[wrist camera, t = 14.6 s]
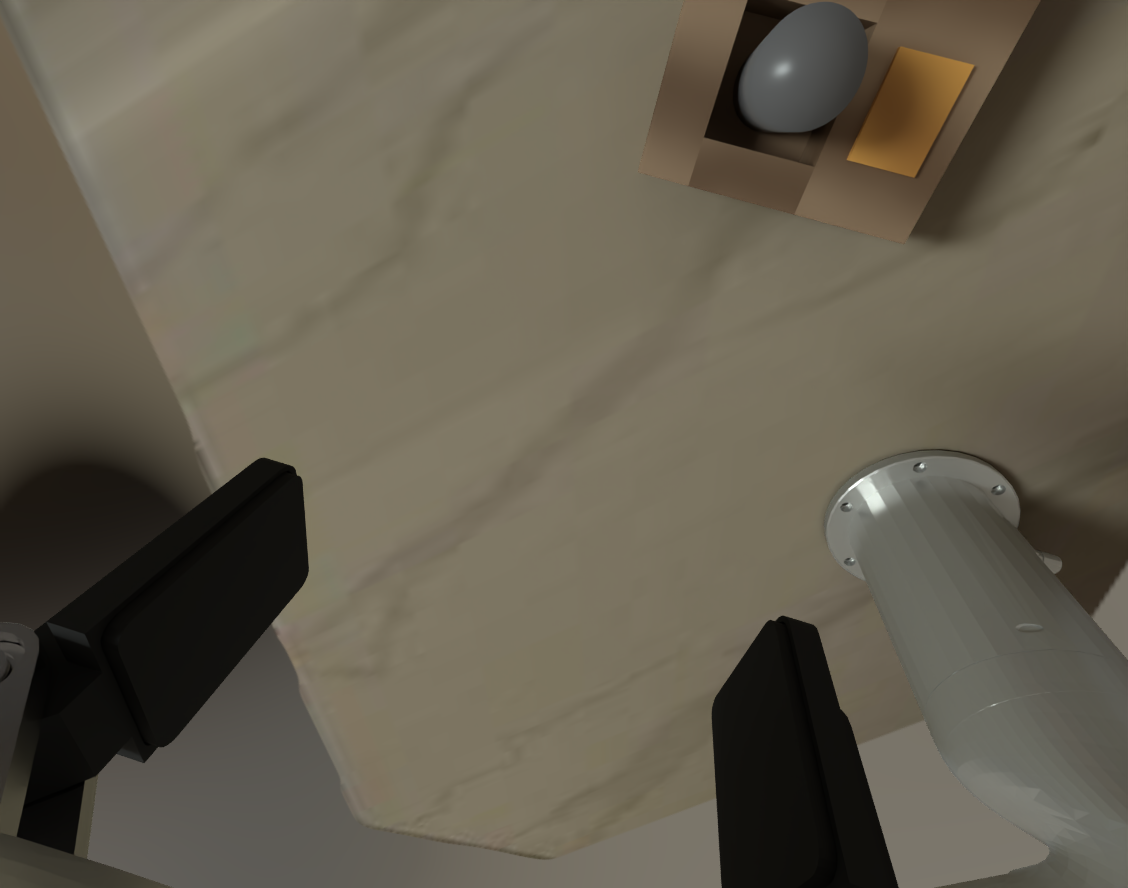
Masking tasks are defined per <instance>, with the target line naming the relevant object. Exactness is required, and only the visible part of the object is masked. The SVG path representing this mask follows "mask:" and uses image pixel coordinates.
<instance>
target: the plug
mask: <svg viewBox="0 0 1128 888" xmlns="http://www.w3.org/2000/svg"><path fill="white" fill-rule="evenodd" d="M867 61H868V41H867V37H866V33H865V30H864V27H863V25H862V23H861V22H860V20H859V19H858V17H857V16H856V15H855V14H854V13H853V12H852V11H851V10H849V9H848V8H846V7H845V6H843V5H840V4H837V3H833V2H816V3H811V4H808V5H805V6H803V7H800V8H798V9H796V10H795V11H793V12H792V13H790V14H789V15H787V16H786V17H785V18H784V19H782V20H781V21H780V22H779V23H778V24H777V25H776V26H775V27H774V29H773V30H772V31H771V32H770V33H769V34H768V35H767V36H766V38H765V39H764V40H763V41H762V42H761V43H760V44H759V45H758V46H757V48H756V49H755V50H754V51H753V52H752V53H751V54H750V55H749V56H748V58H747V59H746V60H745V61H744V63H743V64H742V66H741V68H740V70H739V72H738V74H737V77H736V79H735V83H734V88H733V103H734V108H735V111H736V114H737V116H738V117H739V119H740V120H741V122H742V123H743V124H744V125H745V126H747V127H748V128H750V129H752V130H754V131H757V132H806V131H810V130H813V129H816V128H818V127H821V126H823V125H825V124H826V123H828V122H830V121H831V120H832V119H834V118H835V117H836V116H837V115H839V114H840V113H841V112H842V111H843V110H844V109H845V108H846V107H847V105H848V104H849V103H850V102H851V100H852V99H853V97H854V96H855V94H856V93H857V91H858V89H859V87H860V85H861V83H862V80H863V77H864V74H865V71H866V67H867Z"/></svg>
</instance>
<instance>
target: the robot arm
mask: <svg viewBox="0 0 1128 888" xmlns="http://www.w3.org/2000/svg"><path fill="white" fill-rule="evenodd" d="M1020 513H1021V510H1020V504H1019V498H1018V496H1017V494H1016V492H1015V490H1014V488H1013V486H1012V485H1011V484H1010V483H1009V482H1008V481H1007V480H1006V478H1005V477H1004V476H1003V475H1002V474H1001V473H1000V472H999V471H997V470H996V469H995V468H994V467H992V466H991V465H990V464H988V463H986V462H984V461H982V460H980V459H978V458H976V457H973V456H970V455H966V454H963V453H959V452H952V451H943V450H928V451H916V452H910V453H904V454H900V455H896V456H893V457H890V458H887V459H884V460H881V461H879V462H877V463H875V464H873V465H871V466H869V467H867V468H865V469H863V470H862V471H860V472H859V473H857V474H856V475H854V476H853V477H852V478H850V479H849V480H848V481H847V482H846V483H845V484H844V485H843V486H842V487H841V488H840V489H839V490H838V492H837V493H836V494H835V496H834V497H833V499H832V500H831V502H830V504H829V506H828V509H827V511H826V515H825V520H824V533H825V538H826V541H827V544H828V547H829V549H830V551H831V553H832V555H833V557H834V559H835V560H836V561H837V562H838V563H839V565H840V566H841V567H842V568H844V569H845V570H846V571H848V572H849V573H850V574H852V575H853V576H855V577H857V578H859V579H862V580H864V581H866V582H867V585H868V587H869V589H870V592H871V594H872V596H873V599H874V601H875V603H876V606H877V608H878V611H879V613H880V615H881V618H882V620H883V622H884V625H885V627H886V629H887V632H888V634H889V637H890V639H891V641H892V644H893V646H894V648H895V651H896V653H897V655H898V658H899V660H900V663H901V665H902V667H903V670H904V672H905V674H906V677H907V679H908V681H909V684H910V686H911V689H912V691H913V693H914V696H915V698H916V700H917V703H918V705H919V707H920V710H921V712H922V715H923V717H924V719H925V722H926V724H927V726H928V729H929V731H930V733H931V736H932V738H933V741H934V743H935V745H936V747H937V749H938V751H939V753H940V755H941V757H942V759H943V760H944V762H945V763H946V765H947V766H948V768H949V769H950V771H951V772H952V773H953V775H954V776H955V777H956V778H957V779H958V780H959V782H960V783H961V784H962V785H963V786H964V787H965V788H966V789H967V790H968V791H969V792H970V793H971V794H972V795H973V796H974V797H976V798H977V799H978V800H979V801H980V802H982V803H983V804H984V805H985V806H987V807H988V808H989V809H991V810H992V811H994V812H995V813H996V814H998V815H999V816H1001V817H1002V818H1004V819H1005V820H1007V821H1008V822H1010V823H1012V824H1013V825H1015V826H1016V827H1018V828H1019V829H1021V830H1022V831H1024V832H1026V833H1027V834H1029V835H1030V836H1032V837H1034V838H1035V839H1037V840H1039V841H1040V842H1042V843H1043V844H1045V845H1047V846H1048V847H1049V855H1048V856H1047V858H1046V859H1045V860H1044V861H1042V862H1040V863H1038V864H1036V865H1031V866H1028V867H1023V868H1019V869H1015V870H1012V871H1010V872H1009V873H1008V874H1004V875H998V876H993V877H988V878H983V879H977V880H973V881H967V882H962V883H957V884H951V885H947V886H941V887H936V888H1128V660H1127V659H1126V657H1125V656H1124V655H1123V654H1122V653H1121V652H1120V651H1119V649H1118V648H1117V647H1116V646H1115V645H1114V644H1113V642H1112V641H1111V640H1110V639H1109V638H1108V637H1107V635H1106V634H1105V633H1104V632H1103V631H1102V630H1101V628H1100V627H1099V626H1098V625H1097V624H1096V623H1095V621H1094V620H1093V619H1092V618H1091V617H1090V616H1089V614H1088V613H1087V612H1086V611H1085V610H1084V609H1083V607H1082V606H1081V605H1080V604H1079V603H1078V602H1077V600H1076V599H1075V598H1074V597H1073V596H1072V595H1071V593H1070V592H1069V591H1068V590H1067V589H1066V588H1065V586H1064V585H1063V584H1062V583H1061V582H1060V581H1059V579H1058V578H1057V577H1056V576H1055V575H1054V574H1056V573H1057V572H1059V571H1060V569H1061V568H1062V561H1061V559H1060V557H1058V556H1056V555H1053V554H1050V553H1046V552H1043V551H1040V550H1035V549H1034V548H1033V547H1032V546H1031V544H1030V543H1029V542H1028V541H1027V540H1026V539H1025V538H1024V536H1023V535H1022V534H1021V533H1020V532H1019V531H1018V529H1017V528H1018V526H1019V521H1020ZM308 572H309V565H308V551H307V538H306V524H305V510H304V497H303V483H302V478H301V477H300V476H297V474H296V470H295V468H294V467H293V466H290V465H287V464H284V463H280V462H277V461H274V460H270V459H267V458H260V459H258V460H256V461H254V462H253V463H252V464H251V465H249V466H248V467H247V468H245V469H244V470H243V471H241V472H240V473H239V474H238V475H236V476H235V477H234V478H232V479H231V480H230V481H229V482H227V483H226V484H225V485H223V486H222V487H221V488H219V489H218V490H217V491H216V492H214V493H213V494H212V495H210V496H209V497H208V498H207V499H205V500H204V501H203V502H201V503H200V504H199V505H197V506H196V507H195V508H193V509H192V510H191V511H190V512H188V513H187V514H186V515H185V516H183V517H182V518H180V519H179V520H178V521H177V522H175V523H174V524H173V525H171V526H170V527H169V528H167V529H166V530H165V531H164V532H162V533H161V534H160V535H158V536H157V537H156V538H154V539H153V540H152V541H151V542H149V543H148V544H147V545H145V546H144V547H143V548H141V549H140V550H139V551H138V552H136V553H135V554H134V555H132V556H131V557H130V558H128V559H127V560H126V561H125V562H123V563H122V564H121V565H119V566H118V567H117V568H115V569H114V570H113V571H112V572H110V573H109V574H108V575H107V576H105V577H104V578H102V579H101V580H100V581H99V582H97V583H96V584H95V585H93V586H92V587H91V588H89V589H88V590H87V591H86V592H84V593H83V594H82V595H80V596H79V597H78V598H76V599H75V600H74V601H73V602H71V603H70V604H69V605H67V606H66V607H65V608H63V609H62V610H61V611H60V612H58V613H57V614H56V615H54V616H53V617H52V618H50V619H49V620H48V621H47V622H46V623H44V624H43V625H42V626H40V627H39V628H38V629H36V630H35V631H33V630H32V629H30V628H28V627H26V626H23V625H21V624H16V623H5V622H0V888H173V887H170V886H167V885H164V884H160V883H158V882H155V881H152V880H149V879H146V878H143V877H140V876H137V875H134V874H131V873H128V872H125V871H123V870H120V869H116V868H114V867H110V866H107V865H104V864H101V863H98V862H94V861H91V860H88V859H87V854H88V847H89V840H90V832H91V825H92V817H93V810H94V802H95V795H96V787H97V780H98V773H99V772H100V771H101V770H102V769H103V768H104V767H105V766H106V764H107V763H108V762H109V761H110V760H111V759H112V758H113V757H114V756H115V755H116V754H119V755H121V756H125V757H127V758H131V759H133V760H136V761H139V762H142V763H145V761H146V760H147V759H148V758H149V757H150V756H151V755H152V754H153V752H154V751H155V750H156V748H158V747H164V746H167V745H168V744H169V743H171V742H172V741H173V740H174V739H175V738H176V737H177V736H178V735H179V734H180V732H181V731H182V730H183V729H184V727H185V726H186V725H187V724H188V723H189V721H190V720H191V719H192V718H193V717H194V715H195V714H196V713H197V712H198V711H199V710H200V708H201V707H202V706H203V705H204V704H205V702H206V701H207V700H208V699H209V698H210V696H211V695H212V694H213V693H214V691H215V690H216V689H217V688H218V687H219V686H220V684H221V683H222V682H223V681H224V679H225V678H226V677H227V676H228V675H229V674H230V672H231V671H232V670H233V669H234V667H235V666H236V665H237V664H238V663H239V662H240V660H241V659H242V658H243V657H244V655H245V654H246V653H247V652H248V651H249V649H250V648H251V647H252V646H253V645H254V643H255V642H256V641H257V640H258V639H259V638H260V636H261V635H262V634H263V633H264V632H265V630H266V629H267V628H268V627H269V625H270V624H271V623H272V622H273V621H274V620H275V618H276V617H277V616H278V615H279V614H280V612H281V611H282V610H283V609H284V608H285V606H286V605H287V604H288V603H289V602H290V600H291V599H292V598H293V597H294V596H295V594H296V593H297V592H298V591H299V590H300V588H301V587H302V586H303V584H304V582H305V581H306V578H307V576H308ZM712 730H713V747H714V764H715V781H716V798H717V812H718V813H717V814H718V832H719V850H720V865H721V884H722V888H899V887H898V884H897V880H896V877H895V874H894V870H893V867H892V863H891V860H890V856H889V853H888V850H887V847H886V843H885V839H884V836H883V833H882V829H881V826H880V822H879V819H878V816H877V812H876V809H875V806H874V802H873V799H872V795H871V792H870V789H869V785H868V782H867V778H866V775H865V772H864V768H863V765H862V761H861V758H860V755H859V751H858V748H857V744H856V741H855V737H854V734H853V731H852V727H851V725H850V722H849V720H848V717H847V716H846V715H845V713H844V712H843V711H842V710H840V706H839V703H838V699H837V696H836V692H835V689H834V685H833V682H832V678H831V675H830V671H829V668H828V664H827V661H826V657H825V654H824V650H823V647H822V643H821V639H820V636H819V633H818V630H817V628H816V627H815V626H814V625H812V624H809V623H806V622H802V621H799V620H796V619H793V618H789V617H786V616H780V617H779V618H778V619H777V620H776V621H772V620H769V621H768V622H767V623H766V624H765V625H764V627H763V628H762V630H761V631H760V633H759V634H758V636H757V637H756V638H755V640H754V641H753V643H752V644H751V646H750V647H749V649H748V650H747V652H746V653H745V655H744V656H743V657H742V659H741V660H740V662H739V663H738V665H737V666H736V668H735V669H734V671H733V672H732V674H731V675H730V677H729V678H728V679H727V681H726V682H725V684H724V685H723V687H722V688H721V690H720V691H719V693H718V694H717V696H716V697H715V700H714V703H713V707H712Z"/></svg>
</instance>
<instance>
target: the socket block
mask: <svg viewBox="0 0 1128 888" xmlns="http://www.w3.org/2000/svg"><path fill="white" fill-rule="evenodd" d="M1040 1H1041V0H684V1H683V5H682V8H681V12H680V16H679V20H678V23H677V27H676V31H675V35H674V38H673V42H672V46H671V50H670V53H669V57H668V61H667V65H666V68H665V72H664V76H663V80H662V83H661V87H660V91H659V94H658V98H657V102H656V106H655V109H654V113H653V117H652V121H651V124H650V128H649V132H648V136H647V139H646V143H645V147H644V151H643V154H642V158H641V162H640V166H639V169H638V172H639V173H642V174H646V175H650V176H654V177H657V178H661V179H665V180H668V181H672V182H676V183H679V184H683V185H687V186H691V187H694V188H698V189H702V190H705V191H709V192H713V193H716V194H720V195H724V196H728V197H731V198H735V199H739V200H742V201H746V202H750V203H753V204H757V205H761V206H765V207H768V208H772V209H776V210H779V211H783V212H787V213H791V214H794V215H798V216H802V217H805V218H809V219H813V220H816V221H820V222H824V223H828V224H831V225H835V226H839V227H842V228H846V229H850V230H853V231H857V232H861V233H865V234H868V235H872V236H876V237H879V238H883V239H887V240H890V241H894V242H898V243H902V244H905V242H906V240H907V239H908V237H909V235H910V233H911V231H912V230H913V228H914V226H915V224H916V222H917V221H918V219H919V217H920V215H921V214H922V212H923V210H924V208H925V206H926V205H927V203H928V201H929V199H930V197H931V196H932V194H933V192H934V190H935V189H936V187H937V185H938V183H939V181H940V180H941V178H942V176H943V174H944V172H945V171H946V169H947V167H948V165H949V163H950V162H951V160H952V158H953V156H954V155H955V153H956V151H957V149H958V147H959V146H960V144H961V142H962V140H963V138H964V137H965V135H966V133H967V131H968V130H969V128H970V126H971V124H972V122H973V121H974V119H975V117H976V115H977V113H978V112H979V110H980V108H981V106H982V105H983V103H984V101H985V99H986V97H987V96H988V94H989V92H990V90H991V88H992V87H993V85H994V83H995V81H996V79H997V78H998V76H999V74H1000V72H1001V71H1002V69H1003V67H1004V65H1005V63H1006V62H1007V60H1008V58H1009V56H1010V54H1011V53H1012V51H1013V49H1014V47H1015V46H1016V44H1017V42H1018V40H1019V38H1020V37H1021V35H1022V33H1023V31H1024V29H1025V28H1026V26H1027V24H1028V22H1029V21H1030V19H1031V17H1032V15H1033V13H1034V12H1035V10H1036V8H1037V6H1038V4H1039V3H1040ZM816 2H833V3H837V4H840V5H843V6H845V7H846V8H848V9H849V10H851V11H852V12H853V13H854V14H855V15H856V16H857V17H858V19H859V20H860V22H861V23H862V25H863V27H864V30H865V33H866V37H867V41H868V61H867V67H866V71H865V74H864V77H863V80H862V83H861V85H860V87H859V89H858V91H857V93H856V94H855V96H854V97H853V99H852V100H851V102H850V103H849V104H848V105H847V107H846V108H845V109H844V110H843V111H842V112H841V113H840V114H839V115H837V116H836V117H835V118H834V119H832V120H831V121H830V122H828V123H826V124H825V125H823V126H821V127H818V128H816V129H813V130H810V131H806V132H757V131H754V130H752V129H750V128H748V127H747V126H745V125H744V124H743V123H742V122H741V120H740V119H739V117H738V116H737V114H736V111H735V108H734V103H733V88H734V83H735V79H736V77H737V74H738V72H739V70H740V68H741V66H742V64H743V63H744V61H745V60H746V59H747V58H748V56H749V55H750V54H751V53H752V52H753V51H754V50H755V49H756V48H757V46H758V45H759V44H760V43H761V42H762V41H763V40H764V39H765V38H766V36H767V35H768V34H769V33H770V32H771V31H772V30H773V29H774V27H775V26H776V25H777V24H778V23H779V22H780V21H781V20H782V19H784V18H785V17H786V16H787V15H789V14H790V13H792V12H793V11H795V10H796V9H798V8H800V7H803V6H805V5H808V4H811V3H816Z"/></svg>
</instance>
